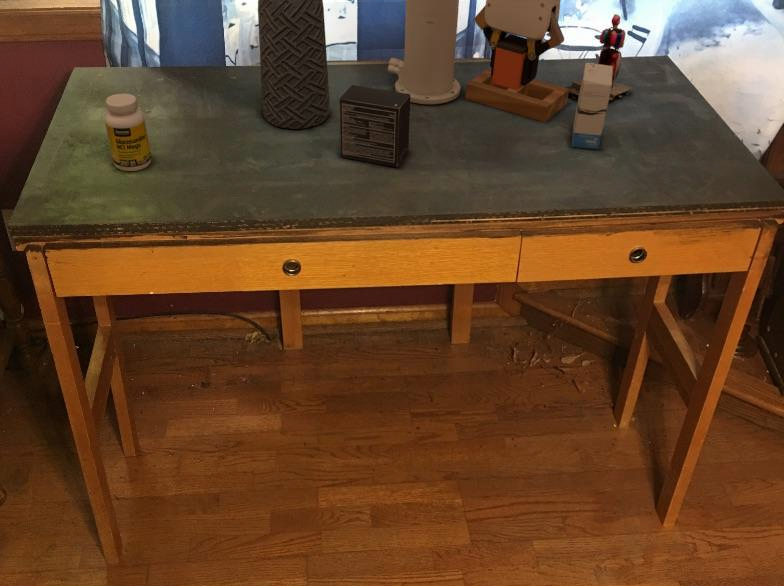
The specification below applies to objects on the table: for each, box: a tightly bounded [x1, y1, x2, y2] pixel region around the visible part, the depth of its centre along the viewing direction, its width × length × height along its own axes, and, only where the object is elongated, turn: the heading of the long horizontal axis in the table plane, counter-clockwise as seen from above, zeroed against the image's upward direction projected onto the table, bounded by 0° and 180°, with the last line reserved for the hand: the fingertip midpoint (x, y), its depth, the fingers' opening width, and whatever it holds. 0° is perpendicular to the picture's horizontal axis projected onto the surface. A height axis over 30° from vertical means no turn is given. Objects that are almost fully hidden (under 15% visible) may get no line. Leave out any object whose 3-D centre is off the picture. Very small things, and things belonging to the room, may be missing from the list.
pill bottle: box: [104, 93, 152, 172], centre depth 139 cm, size 6×6×11 cm
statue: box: [566, 13, 633, 102], centre depth 162 cm, size 11×9×15 cm
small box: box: [339, 84, 411, 168], centre depth 143 cm, size 11×6×10 cm, turn 71°
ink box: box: [571, 62, 613, 150], centre depth 148 cm, size 8×5×12 cm, turn 168°
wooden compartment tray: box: [465, 67, 569, 123], centre depth 162 cm, size 9×17×3 cm, turn 56°
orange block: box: [492, 33, 528, 90], centre depth 129 cm, size 4×4×6 cm
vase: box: [257, 0, 331, 130], centre depth 147 cm, size 12×12×28 cm
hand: (512, 76), depth 130 cm, fingers closed on orange block, 4 cm apart
